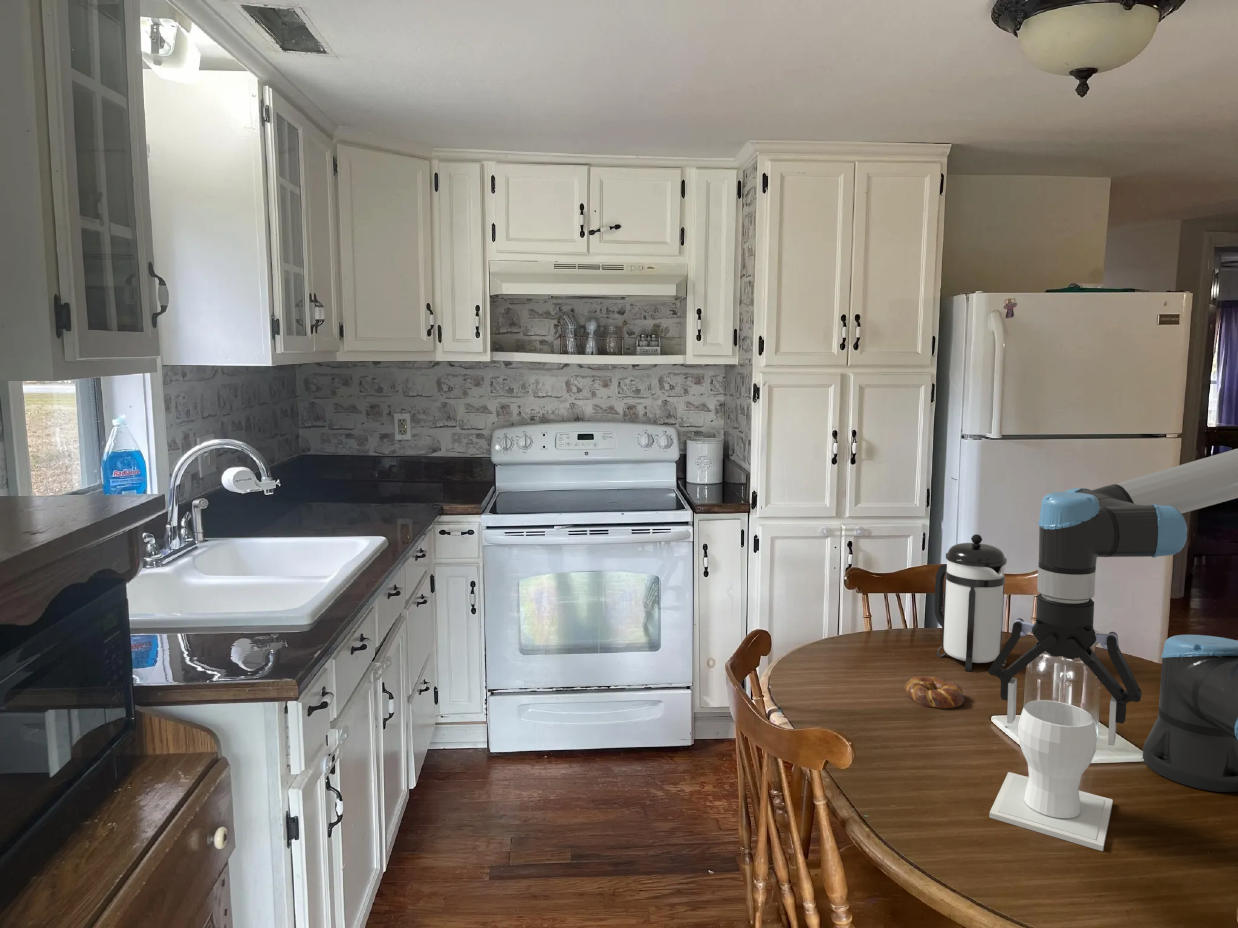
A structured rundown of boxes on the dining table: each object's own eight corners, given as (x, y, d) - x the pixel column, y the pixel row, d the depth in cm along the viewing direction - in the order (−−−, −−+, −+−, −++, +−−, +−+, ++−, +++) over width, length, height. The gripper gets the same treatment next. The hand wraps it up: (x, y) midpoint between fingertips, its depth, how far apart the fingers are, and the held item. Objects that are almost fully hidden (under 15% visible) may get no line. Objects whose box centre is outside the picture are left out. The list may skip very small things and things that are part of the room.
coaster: (1112, 804, 126) (1112, 798, 126) (1102, 851, 114) (1103, 845, 114) (1008, 776, 135) (1008, 771, 135) (989, 817, 123) (989, 811, 123)
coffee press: (1010, 655, 190) (1017, 531, 187) (1001, 677, 177) (1008, 544, 173) (933, 642, 199) (938, 523, 196) (919, 662, 186) (924, 535, 182)
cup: (1023, 780, 132) (1028, 692, 130) (1097, 802, 125) (1104, 710, 124) (1006, 807, 124) (1011, 715, 122) (1084, 832, 117) (1091, 735, 115)
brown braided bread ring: (892, 696, 168) (892, 679, 168) (922, 684, 175) (922, 667, 174) (945, 716, 159) (945, 698, 158) (974, 701, 165) (975, 684, 165)
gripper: (1166, 601, 116) (1158, 741, 119) (981, 579, 131) (978, 703, 133) (1164, 615, 110) (1156, 762, 113) (970, 590, 125) (967, 720, 127)
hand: (1059, 730), depth 123 cm, fingers open, 13 cm apart
